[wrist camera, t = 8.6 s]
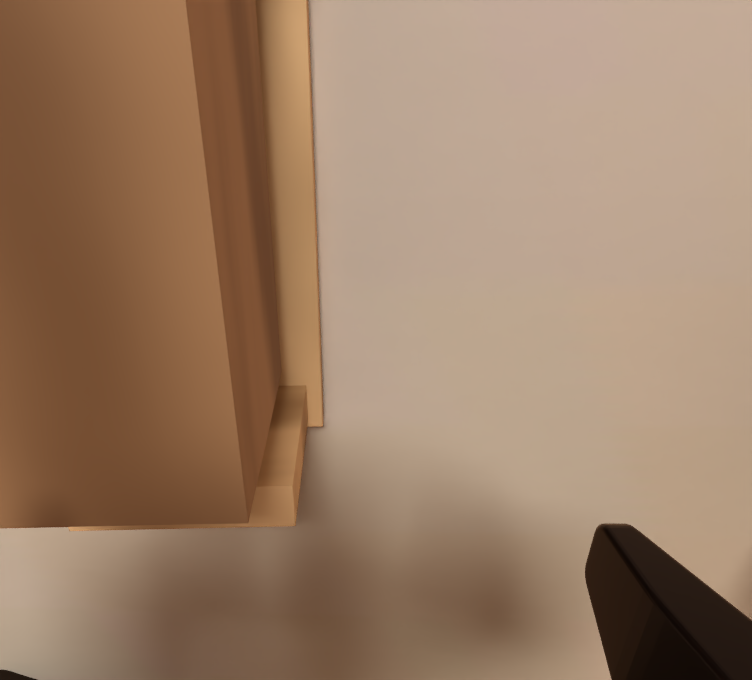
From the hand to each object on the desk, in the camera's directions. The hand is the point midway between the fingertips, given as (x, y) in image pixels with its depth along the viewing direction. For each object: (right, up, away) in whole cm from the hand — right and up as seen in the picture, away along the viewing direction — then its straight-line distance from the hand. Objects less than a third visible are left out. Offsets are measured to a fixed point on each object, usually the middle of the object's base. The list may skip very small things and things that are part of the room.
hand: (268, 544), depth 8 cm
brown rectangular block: (-4, +7, +6) cm, 10 cm away
